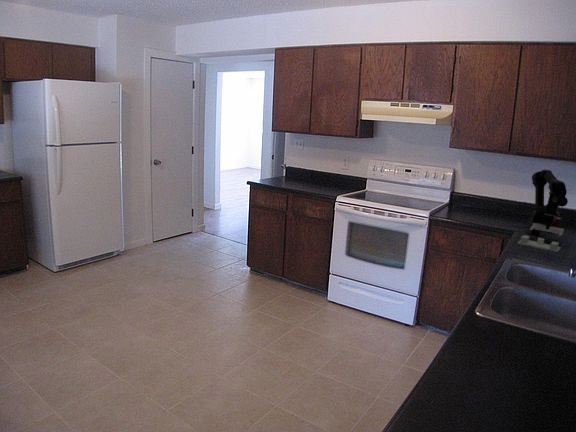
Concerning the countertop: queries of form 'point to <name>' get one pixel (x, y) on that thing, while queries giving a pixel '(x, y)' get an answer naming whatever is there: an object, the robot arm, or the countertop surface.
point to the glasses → (551, 229)
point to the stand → (539, 244)
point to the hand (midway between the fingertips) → (547, 229)
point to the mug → (556, 223)
